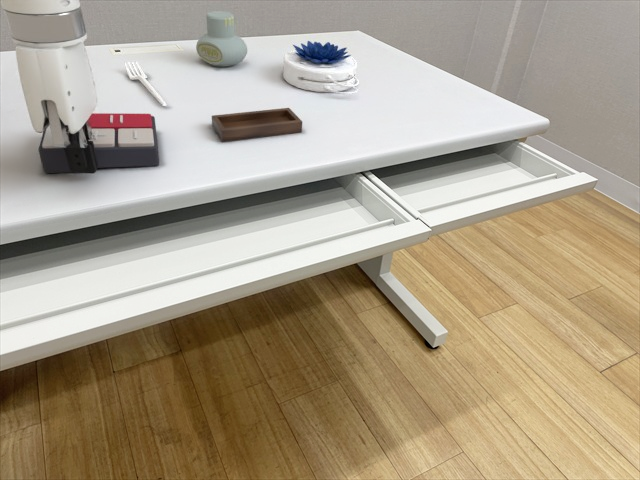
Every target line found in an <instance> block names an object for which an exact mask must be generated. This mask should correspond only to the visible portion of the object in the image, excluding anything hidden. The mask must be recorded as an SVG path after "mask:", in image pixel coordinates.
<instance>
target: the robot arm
mask: <svg viewBox="0 0 640 480" xmlns="http://www.w3.org/2000/svg"><path fill="white" fill-rule="evenodd" d="M0 5H1V8H2V12H3V15H4V18H5V21H6V24H7V27H8V30H9V31H8V32H9V35H10V37H11V40H12V42H13V43H14V44H16V45H15V47H14V49H15V56H16V62H17V68H18V69H17V71H18V75H19V79H20V80H19V81H20V85H21V89H22V93H23V97H24V101H25V104H26V109H27V113H28V116H29V119H30V123H31V127H32V128H33V131H34V132H36V133H37V134H43V132H44V131H45V130H46V129H47V127H48V126H49V125H50V129H51V134H52V140H53V145H54V146H55V147H63V148H64V151H65V154H66V158H67V161H68V165H69V168H70V171H71V172H70V173H72V174H90V175H91V174H95V173H96V172H97V170H99V169H98V167H99V164H98V160H97V156H96V151H95V147H94V143H93V141H89V140H92V137H93V135H92V129H91V123H90V118H89V117H90V116H91V114H92V113H94V111H95V110H96V108H97V105H98V93H97V88H96V83H95V79H94V74H93V71H92V67H91V63H90V59H89V56H88V53H87V50H86V46H85V43H84V42H85V41H86V40H87V39H88V33H87V30H86V24H85V21H84V16H83V12H82V6H81V2H80V0H0ZM66 132H67V133H66Z"/></svg>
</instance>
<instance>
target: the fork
mask: <svg viewBox="0 0 640 480" xmlns="http://www.w3.org/2000/svg"><path fill="white" fill-rule="evenodd" d="M135 63H136V65H135V64H134V61H131V63H130V61H128V62H126V61H125V62H124V66H125V70H126V73H127V76H128V78H129V80H131V81H135V80H139V81H140V82H141V84H142V85H143V86H144V87H145V88H146V89H147V90H148V91H149V92H150V94H151V95H152V96H153V97H154V99H156V100H157V101H158V102H159V103H160V105H161V106H162V107H166V106H167V105H168V104H167V101H165V99H164V98H163V97H162V96H161V95H160V93H158V92H157V90H156V88H155V87H153V86H152V84H151V83H150V82H149V81H148V80H147V79H148V75H146V74H145V72H144V71H143V69H142V67H141V66H140V64H139V62H138V61H137V60H135ZM127 64H128V65H127ZM136 66H137V67H136Z"/></svg>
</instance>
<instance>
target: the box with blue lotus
mask: <svg viewBox="0 0 640 480" xmlns="http://www.w3.org/2000/svg"><path fill="white" fill-rule="evenodd" d="M306 43H307V44H304V43H300V46H301V47H300V46H298V45H295V44H292V46H293V48H294V49H292V50H289V51H288V52H286V53H285V54H284V56H283V70H282V71H283V72H282V77H283V79H284V80H285V82H287V84H289V85H291V86H292V87H295V88H298V89H301V90H305V91H310V92H316V93H334V94H337V95H352V94H353V95H354V94H356V93H358V92H359V89H358V88H357V86H359V84H360V80H359V79H358V77H357V71H358V70H357V69H358V62H357V60H356V59H355V58H354V57H353V56H352V54H348V53H349V51H346V50H347V49H348V47H343V48H339V45H335V44H334V43H332V44H331V43H330V42H329V41H327V42H325V44H322V43H321V42H317V41H313V42H312V41H310V40H307V41H306ZM349 89H353V90H354V91H347V92H346V90H349ZM344 91H345V92H344Z"/></svg>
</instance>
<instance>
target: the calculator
mask: <svg viewBox="0 0 640 480" xmlns="http://www.w3.org/2000/svg"><path fill="white" fill-rule="evenodd" d="M89 118H90V123H91V129H92V135H93V137H92V140H89V141H93V143H94V147H95V151H96V156H97V160H98V164H99V167H98V168H99V169H100V168H101V169H102V168H130V167H131V168H132V167H133V168H134V167H157V166H159V165H160V154H159V145H158V144H159V143H158V135H157V126H156V125H157V124H156V118H155V116H154V115H152V114H151V113H112V112H111V113H108V112H107V113H105V112H104V113H98V112H97V113H96V112H93V113H92V114H91V116H90V117H89ZM66 133H67V132H66ZM38 155H39V158H40V162H41V166H42V170H43V172H44V173H45V174H58V173H59V174H60V173H64V174H65V173H72V172H71V171H70V168H69V165H68V161H67V158H66V154H65V151H64V148H63V147H55V146H54V145H53V140H52V134H51V129H50V125H49V126H48V127H47V129H46V130H45V131H44V132H42V135H41V138H40V142H39V146H38Z"/></svg>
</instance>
